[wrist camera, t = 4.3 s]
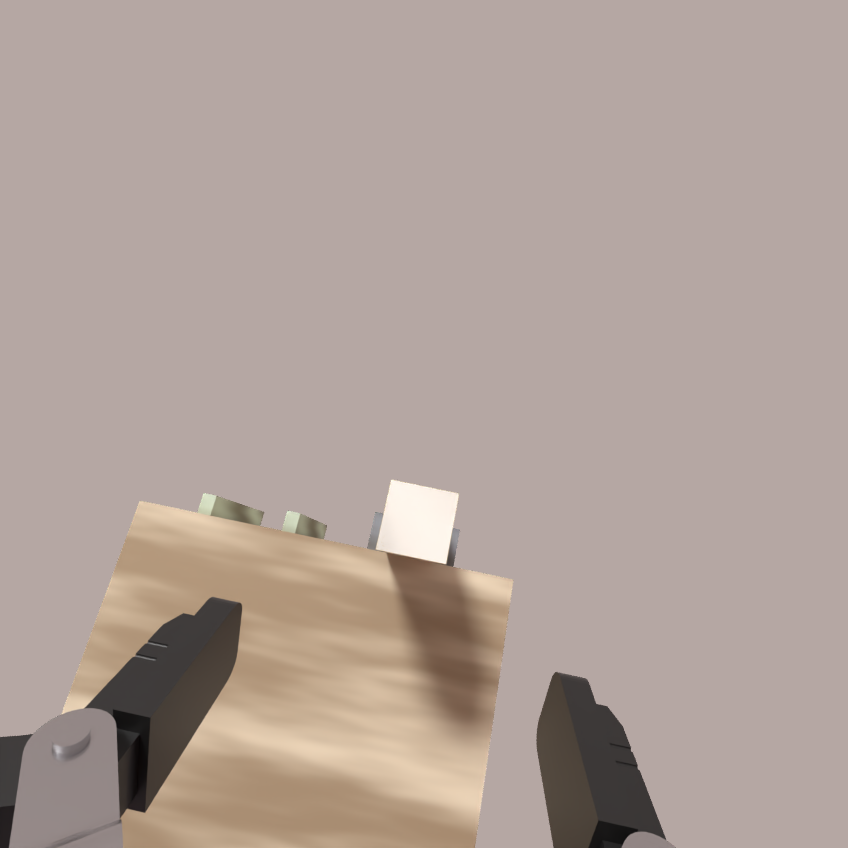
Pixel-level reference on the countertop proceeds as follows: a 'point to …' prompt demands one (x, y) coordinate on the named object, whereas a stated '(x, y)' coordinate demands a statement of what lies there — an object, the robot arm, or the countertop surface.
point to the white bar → (417, 522)
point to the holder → (311, 683)
